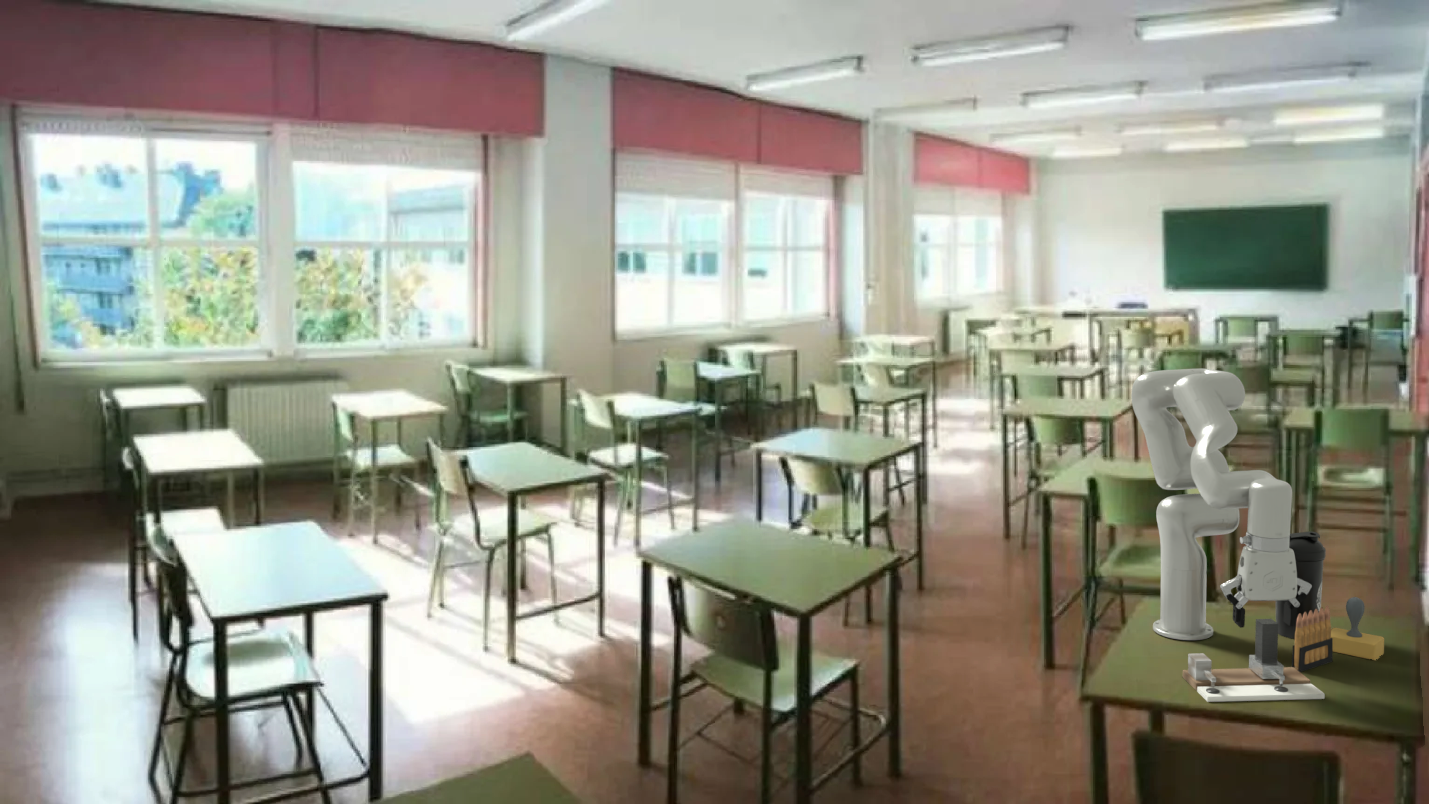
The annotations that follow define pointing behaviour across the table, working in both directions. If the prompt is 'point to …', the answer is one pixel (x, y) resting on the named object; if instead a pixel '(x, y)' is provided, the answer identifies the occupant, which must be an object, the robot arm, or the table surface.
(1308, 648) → the ammunition clip
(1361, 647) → the rubber stamp
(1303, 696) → the hole plate
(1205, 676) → the divider base
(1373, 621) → the table surface
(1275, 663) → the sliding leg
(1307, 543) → the water bottle
